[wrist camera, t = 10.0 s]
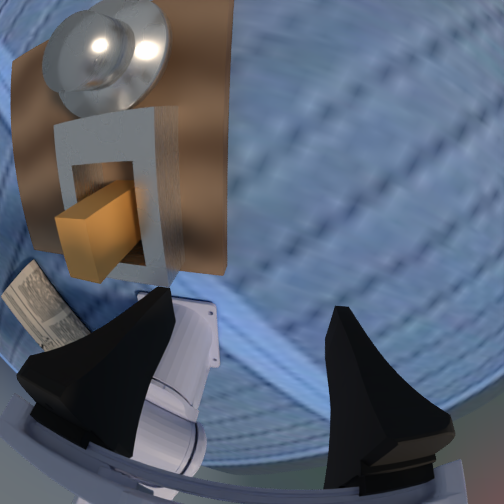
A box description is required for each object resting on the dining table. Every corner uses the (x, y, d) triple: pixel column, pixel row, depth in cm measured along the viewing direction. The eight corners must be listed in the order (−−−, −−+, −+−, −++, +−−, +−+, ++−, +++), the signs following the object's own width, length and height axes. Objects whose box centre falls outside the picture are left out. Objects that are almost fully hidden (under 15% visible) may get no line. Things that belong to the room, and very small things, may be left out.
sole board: (227, 265, 22) (223, 275, 21) (42, 243, 24) (34, 249, 23) (234, -4, 12) (230, -12, 11) (22, 60, 14) (12, 61, 13)
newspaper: (198, 423, 40) (195, 436, 38) (130, 420, 47) (126, 430, 44) (38, 255, 26) (24, 266, 24) (5, 293, 32) (-4, 302, 30)
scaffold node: (189, 261, 21) (159, 312, 16) (100, 250, 22) (60, 290, 16) (188, -5, 11) (149, -40, 6) (86, 24, 12) (31, 14, 7)
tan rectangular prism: (149, 231, 20) (100, 283, 14) (122, 228, 20) (70, 276, 14) (144, 180, 18) (85, 219, 12) (116, 180, 18) (54, 217, 12)
